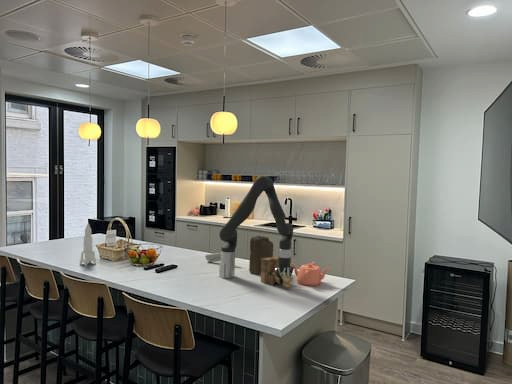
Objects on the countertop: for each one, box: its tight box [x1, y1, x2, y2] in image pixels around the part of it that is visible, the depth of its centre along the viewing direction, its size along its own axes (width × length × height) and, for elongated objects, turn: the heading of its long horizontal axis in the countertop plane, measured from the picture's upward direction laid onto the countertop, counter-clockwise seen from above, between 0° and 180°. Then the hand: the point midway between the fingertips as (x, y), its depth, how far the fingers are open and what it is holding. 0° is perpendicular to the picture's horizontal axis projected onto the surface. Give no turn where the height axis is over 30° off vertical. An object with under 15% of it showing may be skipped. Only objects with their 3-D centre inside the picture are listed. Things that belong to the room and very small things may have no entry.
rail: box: [271, 272, 293, 288], centre depth 230 cm, size 4×17×5 cm, turn 34°
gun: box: [204, 252, 236, 263], centre depth 280 cm, size 2×25×10 cm, turn 66°
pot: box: [290, 261, 330, 287], centre depth 239 cm, size 18×17×12 cm
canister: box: [248, 235, 274, 275], centre depth 262 cm, size 19×8×25 cm, turn 142°
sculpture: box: [79, 222, 97, 267], centre depth 266 cm, size 7×8×30 cm
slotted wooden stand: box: [260, 256, 280, 286], centre depth 237 cm, size 13×10×15 cm
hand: (283, 283), depth 228 cm, fingers closed on rail, 3 cm apart
